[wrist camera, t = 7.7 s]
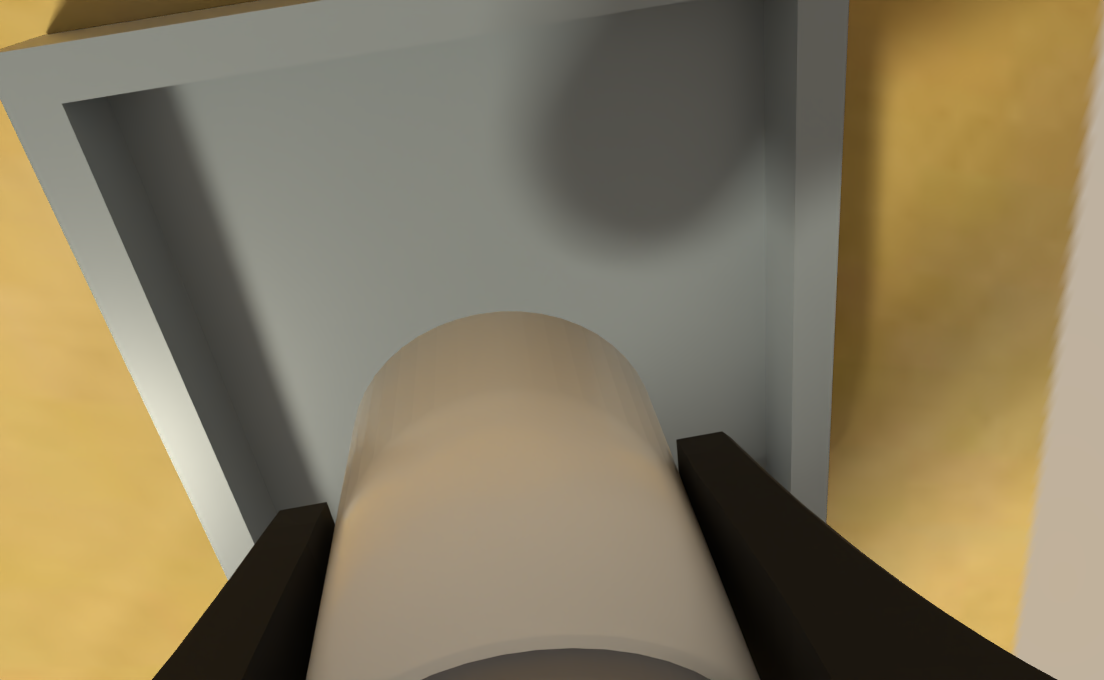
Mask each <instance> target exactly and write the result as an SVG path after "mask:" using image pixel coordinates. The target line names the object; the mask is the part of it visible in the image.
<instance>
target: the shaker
mask: <svg viewBox="0 0 1104 680" xmlns="http://www.w3.org/2000/svg"><path fill="white" fill-rule="evenodd" d="M306 680H760V678H759V675H758V673H757V670H756V668H755V665H754V662H753V660H752V657H751V655H750V652H749V650H748V647H747V645H746V642H745V640H744V637H743V634H742V632H741V629H740V627H739V624H738V622H737V619H736V617H735V614H734V612H733V609H732V607H731V604H730V601H729V599H728V596H727V594H726V591H725V589H724V586H723V584H722V581H721V579H720V576H719V573H718V571H717V568H716V566H715V563H714V561H713V558H712V556H711V553H710V551H709V548H708V545H707V543H706V540H705V538H704V535H703V533H702V530H701V528H700V525H699V523H698V520H697V518H696V515H695V512H694V510H693V507H692V505H691V502H690V500H689V497H688V495H687V492H686V490H685V487H684V484H683V482H682V479H681V477H680V474H679V472H678V469H677V467H676V464H675V462H674V459H673V456H672V454H671V451H670V449H669V446H668V444H667V441H666V439H665V436H664V434H663V431H662V429H661V426H660V423H659V421H658V418H657V416H656V413H655V411H654V408H653V406H652V403H651V401H650V398H649V395H648V393H647V390H646V388H645V386H644V384H643V382H642V380H641V378H640V377H639V375H638V373H637V371H636V370H635V369H634V367H633V366H632V365H631V364H630V362H629V361H628V360H627V358H626V357H625V356H624V355H622V354H621V353H620V352H619V351H618V350H617V349H616V348H615V347H614V346H613V345H612V344H610V343H609V342H607V341H606V340H605V339H603V338H602V337H601V336H599V335H598V334H596V333H594V332H592V331H590V330H588V329H586V328H584V327H583V326H580V325H578V324H575V323H572V322H570V321H567V320H564V319H561V318H557V317H553V316H549V315H545V314H539V313H530V312H522V311H501V312H491V313H483V314H476V315H472V316H468V317H464V318H460V319H456V320H454V321H451V322H448V323H445V324H443V325H440V326H437V327H435V328H433V329H431V330H430V331H428V332H426V333H424V334H422V335H420V336H418V337H417V338H415V339H414V340H412V341H411V342H409V343H408V344H406V345H405V346H404V347H402V348H401V349H400V350H399V351H398V352H396V353H395V354H394V355H393V356H392V357H391V358H390V359H389V360H388V361H387V362H386V363H385V364H384V365H383V366H382V368H381V369H380V370H379V371H378V372H377V374H376V375H375V376H374V378H373V379H372V381H371V383H370V384H369V386H368V387H367V389H366V391H365V393H364V395H363V398H362V400H361V402H360V405H359V407H358V411H357V415H356V419H355V423H354V428H353V434H352V439H351V444H350V449H349V455H348V460H347V465H346V470H345V476H344V481H343V486H342V491H341V497H340V502H339V507H338V512H337V518H336V523H335V528H334V533H333V539H332V544H331V549H330V554H329V560H328V565H327V570H326V575H325V581H324V586H323V591H322V597H321V602H320V607H319V612H318V618H317V623H316V628H315V633H314V639H313V644H312V649H311V654H310V660H309V665H308V670H307V675H306Z"/></svg>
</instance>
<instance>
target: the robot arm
mask: <svg viewBox="0 0 1104 680" xmlns="http://www.w3.org/2000/svg"><path fill="white" fill-rule="evenodd" d="M676 443H677V456H678V469H679V474H680V477H681V479H682V482H683V484H684V487H685V490H686V492H687V495H688V497H689V500H690V502H691V505H692V507H693V510H694V512H695V515H696V518H697V520H698V523H699V525H700V528H701V530H702V533H703V535H704V538H705V540H706V543H707V545H708V548H709V551H710V553H711V556H712V558H713V561H714V563H715V566H716V568H717V571H718V573H719V576H720V579H721V581H722V584H723V586H724V589H725V591H726V594H727V596H728V599H729V601H730V604H731V607H732V609H733V612H734V614H735V617H736V619H737V622H738V624H739V627H740V629H741V632H742V634H743V637H744V640H745V642H746V645H747V647H748V650H749V652H750V655H751V657H752V660H753V662H754V665H755V668H756V670H757V673H758V675H759V678H760V680H1057V679H1055V678H1053V677H1051V676H1050V675H1048V674H1046V673H1044V672H1042V671H1040V670H1038V669H1037V668H1035V667H1033V666H1031V665H1029V664H1028V663H1026V662H1024V661H1022V660H1021V659H1019V658H1017V657H1016V656H1014V655H1012V654H1011V653H1009V652H1007V651H1005V650H1004V649H1002V648H1000V647H999V646H997V645H995V644H994V643H992V642H990V641H989V640H987V639H986V638H984V637H982V636H981V635H979V634H978V633H976V632H975V631H973V630H972V629H970V628H968V627H967V626H965V625H964V624H962V623H961V622H959V621H958V620H956V619H954V618H953V617H951V616H950V615H948V614H947V613H945V612H944V611H942V610H941V609H939V608H938V607H936V606H935V605H933V604H932V603H931V602H929V601H928V600H926V599H925V598H923V597H922V596H920V595H919V594H918V593H916V592H915V591H913V590H912V589H910V588H909V587H908V586H906V585H905V584H903V583H902V582H901V581H899V580H898V579H897V578H895V577H894V576H893V575H891V574H890V573H889V572H887V571H886V570H885V569H883V568H882V567H881V566H879V565H878V564H877V563H875V562H874V561H872V560H871V559H870V558H868V557H867V556H866V555H865V554H863V553H862V552H861V551H860V550H858V549H857V548H856V547H854V546H853V545H852V544H851V543H849V542H848V541H847V540H846V539H844V538H843V537H842V536H841V535H839V534H838V533H837V532H836V531H835V530H833V529H832V528H831V527H830V526H829V525H827V524H826V523H825V522H824V521H823V520H821V519H820V518H819V517H818V516H817V515H815V514H814V513H813V512H812V511H811V510H809V509H808V508H807V507H806V506H805V505H803V504H802V503H801V502H800V501H799V500H798V499H797V498H795V497H794V496H793V495H792V494H791V493H790V492H789V491H788V490H786V489H785V488H784V487H783V486H782V485H781V484H780V483H779V482H778V481H776V480H775V479H774V478H773V477H772V476H771V475H770V474H769V473H768V472H767V471H766V470H764V469H763V468H762V467H761V466H760V465H759V464H758V463H757V462H756V461H755V460H754V459H753V458H752V457H751V456H750V455H749V454H748V453H747V452H745V451H744V450H743V449H742V448H741V447H740V446H739V445H738V444H737V443H736V442H735V441H734V440H733V439H732V438H731V437H730V436H728V435H727V434H725V433H724V432H723V431H721V432H715V433H710V434H704V435H699V436H693V437H687V438H682V439H676ZM334 528H335V523H334V520H333V518H332V515H331V512H330V509H329V507H328V504H327V502H323V503H318V504H312V505H307V506H301V507H295V508H290V509H284V510H280V511H279V512H278V513H277V515H276V516H275V517H274V519H273V520H272V521H271V523H270V524H269V525H268V527H267V528H266V529H265V531H264V532H263V533H262V535H261V536H260V537H259V539H258V540H257V542H256V543H255V544H254V546H253V547H252V548H251V550H250V551H249V553H248V554H247V555H246V557H245V558H244V560H243V561H242V562H241V564H240V565H239V566H238V568H237V569H236V571H235V572H234V573H233V575H232V576H231V577H230V579H229V580H228V582H227V583H226V584H225V586H224V587H223V588H222V590H221V591H220V593H219V594H218V595H217V597H216V598H215V599H214V601H213V602H212V603H211V605H210V606H209V607H208V609H207V610H206V611H205V613H204V614H203V615H202V617H201V618H200V619H199V621H198V622H197V623H196V624H195V626H194V627H193V628H192V630H191V631H190V632H189V634H188V635H187V636H186V638H185V639H184V640H183V642H182V643H181V644H180V646H179V647H178V648H177V650H176V651H175V652H174V653H173V655H172V656H171V657H170V658H169V659H168V661H167V662H166V663H165V664H164V666H163V667H162V668H161V669H160V670H159V672H158V673H157V674H156V675H155V677H154V678H153V679H152V680H306V675H307V670H308V665H309V660H310V654H311V649H312V644H313V639H314V633H315V628H316V623H317V618H318V612H319V607H320V602H321V597H322V591H323V586H324V581H325V575H326V570H327V565H328V560H329V554H330V549H331V544H332V539H333V533H334Z"/></svg>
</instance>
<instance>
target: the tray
mask: <svg viewBox="0 0 1104 680" xmlns="http://www.w3.org/2000/svg"><path fill="white" fill-rule="evenodd" d="M848 17H849V0H258V1H252V2H245V3H239V4H233V5H227V6H221V7H214V8H208V9H202V10H196V11H190V12H183V13H177V14H171V15H165V16H159V17H152V18H146V19H140V20H134V21H128V22H121V23H115V24H109V25H103V26H97V27H90V28H84V29H78V30H72V31H66V32H59V33H53V34H47V35H42V36H39V37H36V38H33V39H30V40H27V41H24V42H21V43H17V44H14V45H11V46H8V47H5V48H2V49H0V100H1V102H2V104H3V106H4V108H5V110H6V112H7V115H8V117H9V119H10V121H11V123H12V125H13V127H14V129H15V131H16V134H17V136H18V138H19V140H20V142H21V144H22V146H23V148H24V150H25V153H26V155H27V157H28V159H29V161H30V163H31V165H32V167H33V169H34V172H35V174H36V176H37V178H38V180H39V182H40V184H41V186H42V188H43V191H44V193H45V195H46V197H47V199H48V201H49V203H50V205H51V207H52V210H53V212H54V214H55V216H56V218H57V220H58V222H59V224H60V226H61V229H62V231H63V233H64V235H65V237H66V239H67V241H68V243H69V245H70V248H71V250H72V252H73V254H74V256H75V258H76V260H77V262H78V264H79V267H80V269H81V271H82V273H83V275H84V277H85V279H86V281H87V283H88V286H89V288H90V290H91V292H92V294H93V296H94V298H95V300H96V302H97V305H98V307H99V309H100V311H101V313H102V315H103V317H104V319H105V321H106V324H107V326H108V328H109V330H110V332H111V334H112V336H113V338H114V340H115V343H116V345H117V347H118V349H119V351H120V353H121V355H122V357H123V359H124V362H125V364H126V366H127V368H128V370H129V372H130V374H131V376H132V378H133V381H134V383H135V385H136V387H137V389H138V391H139V393H140V395H141V397H142V400H143V402H144V404H145V406H146V408H147V410H148V412H149V414H150V416H151V419H152V421H153V423H154V425H155V427H156V429H157V431H158V433H159V435H160V438H161V440H162V442H163V444H164V446H165V448H166V450H167V452H168V454H169V457H170V459H171V461H172V463H173V465H174V467H175V469H176V471H177V473H178V476H179V478H180V480H181V482H182V484H183V486H184V488H185V490H186V492H187V495H188V497H189V499H190V501H191V503H192V505H193V507H194V509H195V511H196V514H197V516H198V518H199V520H200V522H201V524H202V526H203V528H204V530H205V533H206V535H207V537H208V539H209V541H210V543H211V545H212V547H213V549H214V552H215V554H216V556H217V558H218V560H219V562H220V564H221V566H222V568H223V571H224V573H225V575H226V577H227V579H228V580H229V579H230V577H231V576H232V575H233V573H234V572H235V571H236V569H237V568H238V566H239V565H240V564H241V562H242V561H243V560H244V558H245V557H246V555H247V554H248V553H249V551H250V550H251V548H252V547H253V546H254V544H255V543H256V542H257V540H258V539H259V537H260V536H261V535H262V533H263V532H264V531H265V529H266V528H267V527H268V525H269V524H270V523H271V521H272V520H273V519H274V517H275V516H276V515H277V513H278V512H279V511H280V510H284V509H290V508H295V507H301V506H307V505H312V504H318V503H323V502H327V504H328V507H329V509H330V512H331V515H332V518H333V520H334V523H336V518H337V512H338V507H339V502H340V497H341V491H342V486H343V481H344V476H345V470H346V465H347V460H348V455H349V449H350V444H351V439H352V434H353V428H354V423H355V419H356V415H357V411H358V407H359V405H360V402H361V400H362V398H363V395H364V393H365V391H366V389H367V387H368V386H369V384H370V383H371V381H372V379H373V378H374V376H375V375H376V374H377V372H378V371H379V370H380V369H381V368H382V366H383V365H384V364H385V363H386V362H387V361H388V360H389V359H390V358H391V357H392V356H393V355H394V354H395V353H396V352H398V351H399V350H400V349H401V348H402V347H404V346H405V345H406V344H408V343H409V342H411V341H412V340H414V339H415V338H417V337H418V336H420V335H422V334H424V333H426V332H428V331H430V330H431V329H433V328H435V327H437V326H440V325H443V324H445V323H448V322H451V321H454V320H456V319H460V318H464V317H468V316H472V315H476V314H483V313H491V312H501V311H522V312H530V313H539V314H545V315H549V316H553V317H557V318H561V319H564V320H567V321H570V322H572V323H575V324H578V325H580V326H583V327H584V328H586V329H588V330H590V331H592V332H594V333H596V334H598V335H599V336H601V337H602V338H603V339H605V340H606V341H607V342H609V343H610V344H612V345H613V346H614V347H615V348H616V349H617V350H618V351H619V352H620V353H621V354H622V355H624V356H625V357H626V358H627V360H628V361H629V362H630V364H631V365H632V366H633V367H634V369H635V370H636V371H637V373H638V375H639V377H640V378H641V380H642V382H643V384H644V386H645V388H646V390H647V393H648V395H649V398H650V401H651V403H652V406H653V408H654V411H655V413H656V416H657V418H658V421H659V423H660V426H661V429H662V431H663V434H664V436H665V439H666V441H667V444H668V446H669V449H670V451H671V454H672V456H673V459H674V462H675V464H676V467H677V469H678V456H677V443H676V439H682V438H687V437H693V436H699V435H704V434H710V433H715V432H721V431H723V432H724V433H725V434H727V435H728V436H730V437H731V438H732V439H733V440H734V441H735V442H736V443H737V444H738V445H739V446H740V447H741V448H742V449H743V450H744V451H745V452H747V453H748V454H749V455H750V456H751V457H752V458H753V459H754V460H755V461H756V462H757V463H758V464H759V465H760V466H761V467H762V468H763V469H764V470H766V471H767V472H768V473H769V474H770V475H771V476H772V477H773V478H774V479H775V480H776V481H778V482H779V483H780V484H781V485H782V486H783V487H784V488H785V489H786V490H788V491H789V492H790V493H791V494H792V495H793V496H794V497H795V498H797V499H798V500H799V501H800V502H801V503H802V504H803V505H805V506H806V507H807V508H808V509H809V510H811V511H812V512H813V513H814V514H815V515H817V516H818V517H819V518H820V519H821V520H823V521H824V522H825V523H826V517H827V495H828V472H829V449H830V426H831V404H832V381H833V358H834V335H835V312H836V290H837V267H838V244H839V221H840V199H841V176H842V153H843V130H844V108H845V85H846V62H847V39H848ZM678 472H679V469H678Z"/></svg>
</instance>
